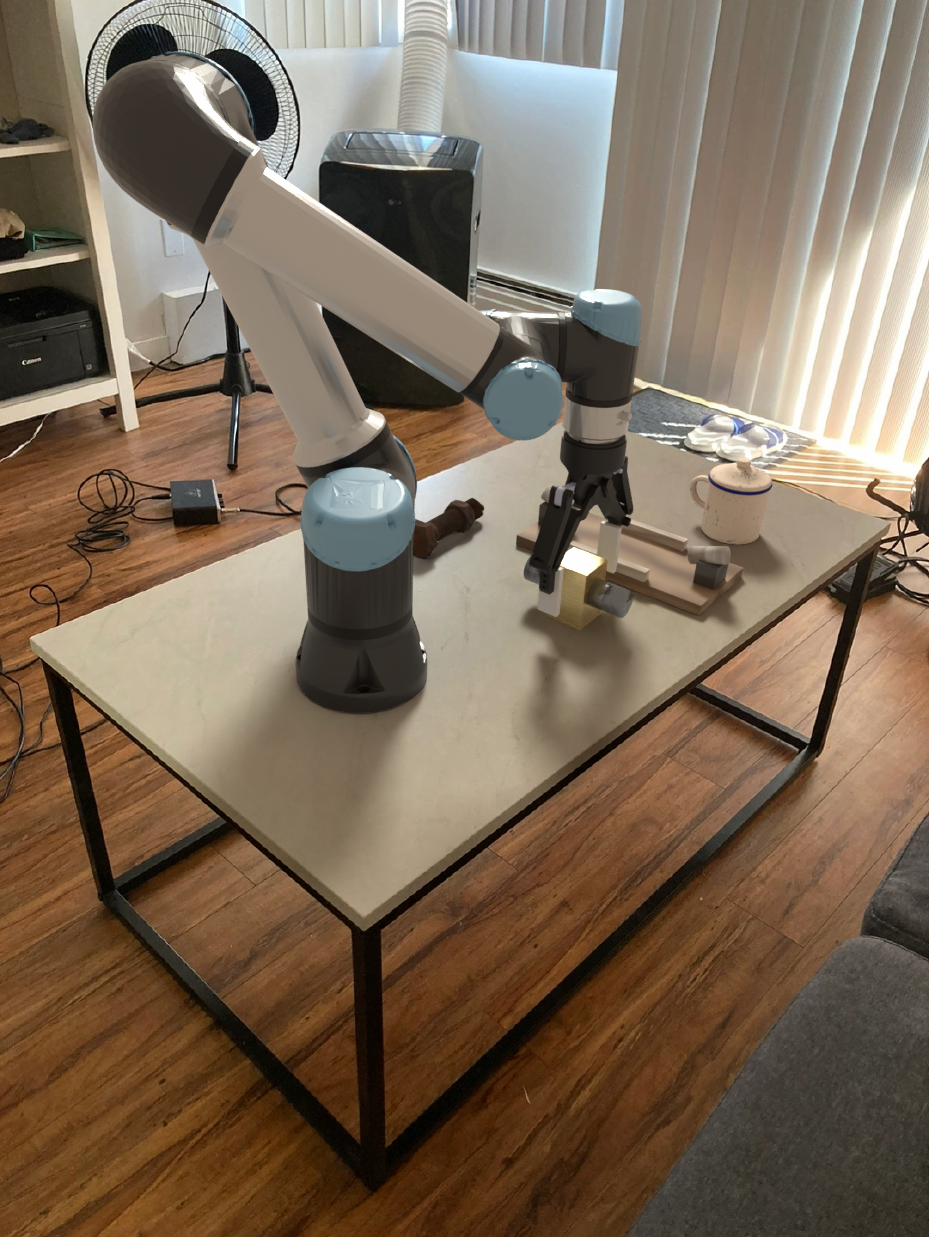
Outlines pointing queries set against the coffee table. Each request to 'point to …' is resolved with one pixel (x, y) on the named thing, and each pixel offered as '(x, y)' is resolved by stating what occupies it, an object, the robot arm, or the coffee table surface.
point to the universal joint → (585, 589)
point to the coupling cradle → (654, 561)
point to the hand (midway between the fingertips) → (578, 589)
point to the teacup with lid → (733, 501)
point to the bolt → (445, 525)
